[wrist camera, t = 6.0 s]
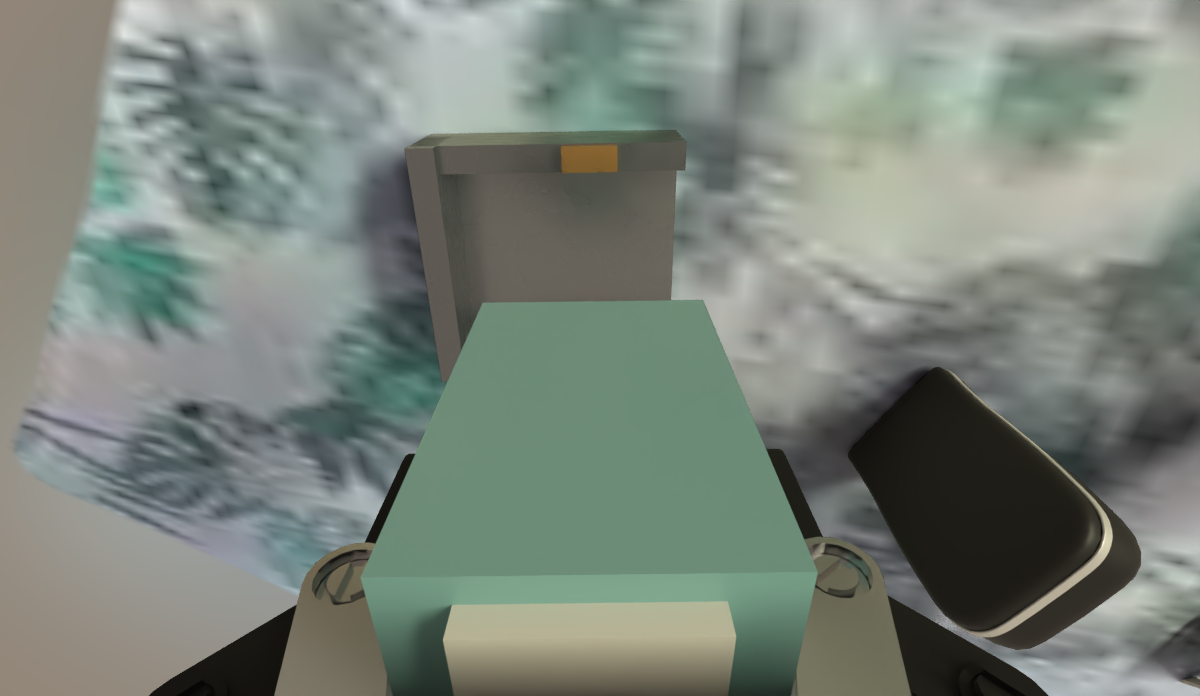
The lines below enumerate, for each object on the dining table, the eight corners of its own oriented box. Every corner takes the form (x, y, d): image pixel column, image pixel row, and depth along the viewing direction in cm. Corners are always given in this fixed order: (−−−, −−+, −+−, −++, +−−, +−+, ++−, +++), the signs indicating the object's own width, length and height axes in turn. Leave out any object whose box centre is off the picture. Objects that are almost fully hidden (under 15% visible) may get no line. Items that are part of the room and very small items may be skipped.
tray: (675, 130, 24) (688, 143, 21) (667, 338, 28) (676, 377, 25) (431, 134, 24) (404, 148, 21) (460, 341, 28) (441, 381, 25)
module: (703, 300, 12) (832, 606, 5) (686, 521, 15) (759, 904, 8) (482, 302, 12) (345, 612, 5) (507, 524, 15) (434, 909, 8)
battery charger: (890, 483, 33) (1023, 681, 22) (839, 454, 32) (953, 647, 22) (989, 391, 30) (1191, 569, 20) (935, 356, 29) (1119, 525, 19)
